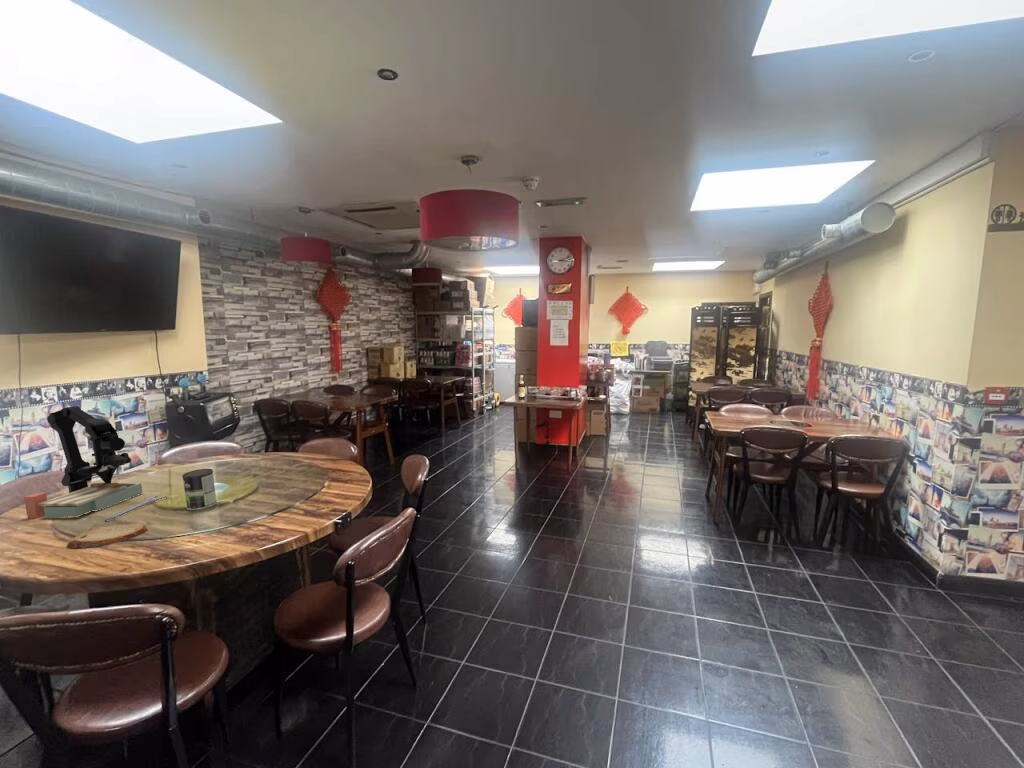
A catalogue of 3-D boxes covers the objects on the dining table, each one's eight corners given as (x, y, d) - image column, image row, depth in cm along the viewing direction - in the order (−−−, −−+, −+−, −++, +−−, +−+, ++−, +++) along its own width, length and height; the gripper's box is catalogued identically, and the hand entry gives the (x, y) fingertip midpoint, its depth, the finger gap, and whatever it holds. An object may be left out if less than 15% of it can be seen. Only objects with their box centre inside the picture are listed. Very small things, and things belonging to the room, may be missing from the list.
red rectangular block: (27, 518, 178) (23, 496, 177) (40, 513, 182) (36, 492, 181) (37, 518, 177) (33, 496, 176) (49, 513, 182) (45, 492, 181)
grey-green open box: (41, 518, 177) (39, 506, 177) (107, 494, 203) (105, 483, 202) (80, 518, 175) (78, 506, 174) (142, 493, 201) (140, 483, 200)
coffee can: (190, 512, 175) (185, 478, 173) (184, 506, 182) (179, 473, 180) (220, 504, 182) (215, 471, 181) (213, 498, 190) (209, 467, 188)
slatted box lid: (38, 506, 176) (37, 499, 176) (90, 488, 196) (89, 482, 196) (77, 505, 174) (76, 499, 174) (127, 487, 194) (126, 482, 194)
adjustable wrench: (109, 523, 170) (108, 518, 170) (95, 522, 171) (94, 518, 171) (169, 498, 194) (169, 494, 194) (157, 497, 196) (157, 494, 195)
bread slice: (152, 530, 160) (151, 521, 160) (90, 555, 144) (88, 544, 143) (123, 524, 167) (122, 515, 167) (61, 547, 151) (59, 536, 150)
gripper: (97, 455, 183) (103, 491, 185) (139, 443, 201) (144, 477, 203) (73, 456, 184) (79, 492, 186) (117, 444, 202) (122, 477, 204)
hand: (108, 484), depth 195 cm, fingers closed
